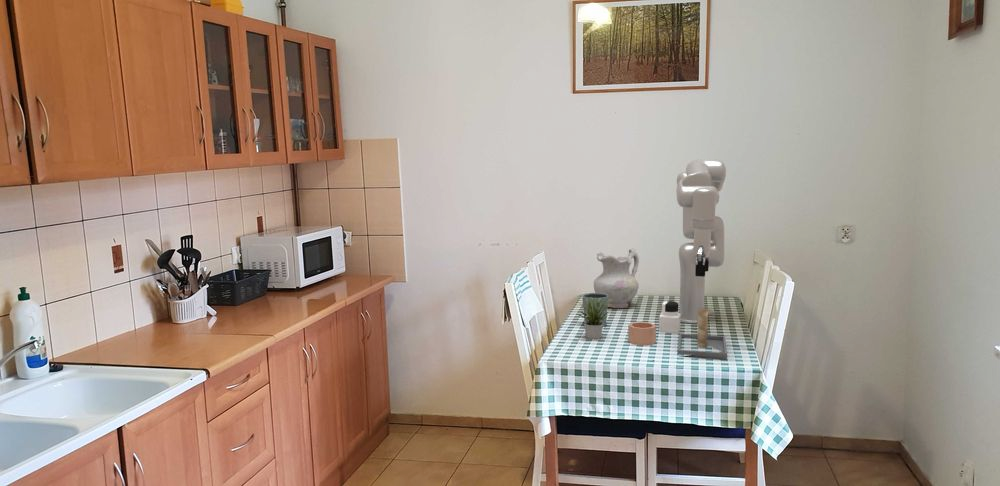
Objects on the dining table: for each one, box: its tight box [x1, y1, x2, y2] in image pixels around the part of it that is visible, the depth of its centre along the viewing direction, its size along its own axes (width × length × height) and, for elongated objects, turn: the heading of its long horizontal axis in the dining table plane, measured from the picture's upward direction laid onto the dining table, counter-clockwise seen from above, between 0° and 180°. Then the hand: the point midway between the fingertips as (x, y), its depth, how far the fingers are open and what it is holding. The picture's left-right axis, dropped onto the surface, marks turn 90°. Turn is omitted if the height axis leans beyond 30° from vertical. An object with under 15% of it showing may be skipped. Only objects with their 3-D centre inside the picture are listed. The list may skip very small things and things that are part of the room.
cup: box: [627, 321, 657, 346], centre depth 259 cm, size 9×9×7 cm
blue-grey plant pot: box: [581, 292, 608, 328], centre depth 287 cm, size 10×10×12 cm
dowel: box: [696, 307, 709, 349], centre depth 252 cm, size 3×3×14 cm
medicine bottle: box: [658, 300, 681, 334], centre depth 274 cm, size 7×7×12 cm
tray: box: [677, 333, 728, 361], centre depth 252 cm, size 22×16×2 cm
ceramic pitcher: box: [593, 248, 640, 309], centre depth 320 cm, size 22×20×25 cm
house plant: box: [575, 297, 613, 340], centre depth 265 cm, size 14×14×16 cm
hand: (701, 273), depth 250 cm, fingers open, 9 cm apart
